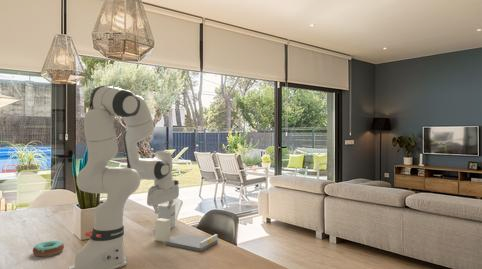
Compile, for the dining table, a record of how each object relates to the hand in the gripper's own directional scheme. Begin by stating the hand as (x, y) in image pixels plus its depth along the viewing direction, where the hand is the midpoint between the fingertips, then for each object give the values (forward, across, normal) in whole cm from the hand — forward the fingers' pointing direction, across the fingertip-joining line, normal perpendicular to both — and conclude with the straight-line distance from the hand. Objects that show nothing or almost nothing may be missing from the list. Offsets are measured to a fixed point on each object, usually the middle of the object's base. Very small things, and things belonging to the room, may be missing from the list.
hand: (163, 211), depth 167 cm
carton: (+14, -1, 0) cm, 14 cm away
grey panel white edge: (+14, +1, -16) cm, 21 cm away
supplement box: (+15, +17, +12) cm, 26 cm away
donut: (+14, -38, +33) cm, 52 cm away
